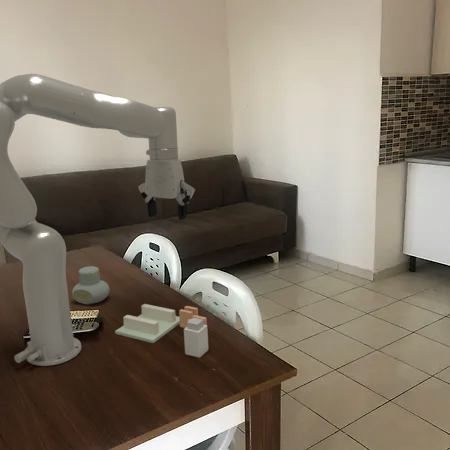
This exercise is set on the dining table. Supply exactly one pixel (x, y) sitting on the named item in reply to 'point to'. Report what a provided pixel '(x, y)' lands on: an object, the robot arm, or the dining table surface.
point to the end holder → (149, 323)
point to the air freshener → (90, 286)
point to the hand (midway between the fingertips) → (167, 217)
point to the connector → (196, 337)
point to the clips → (189, 315)
